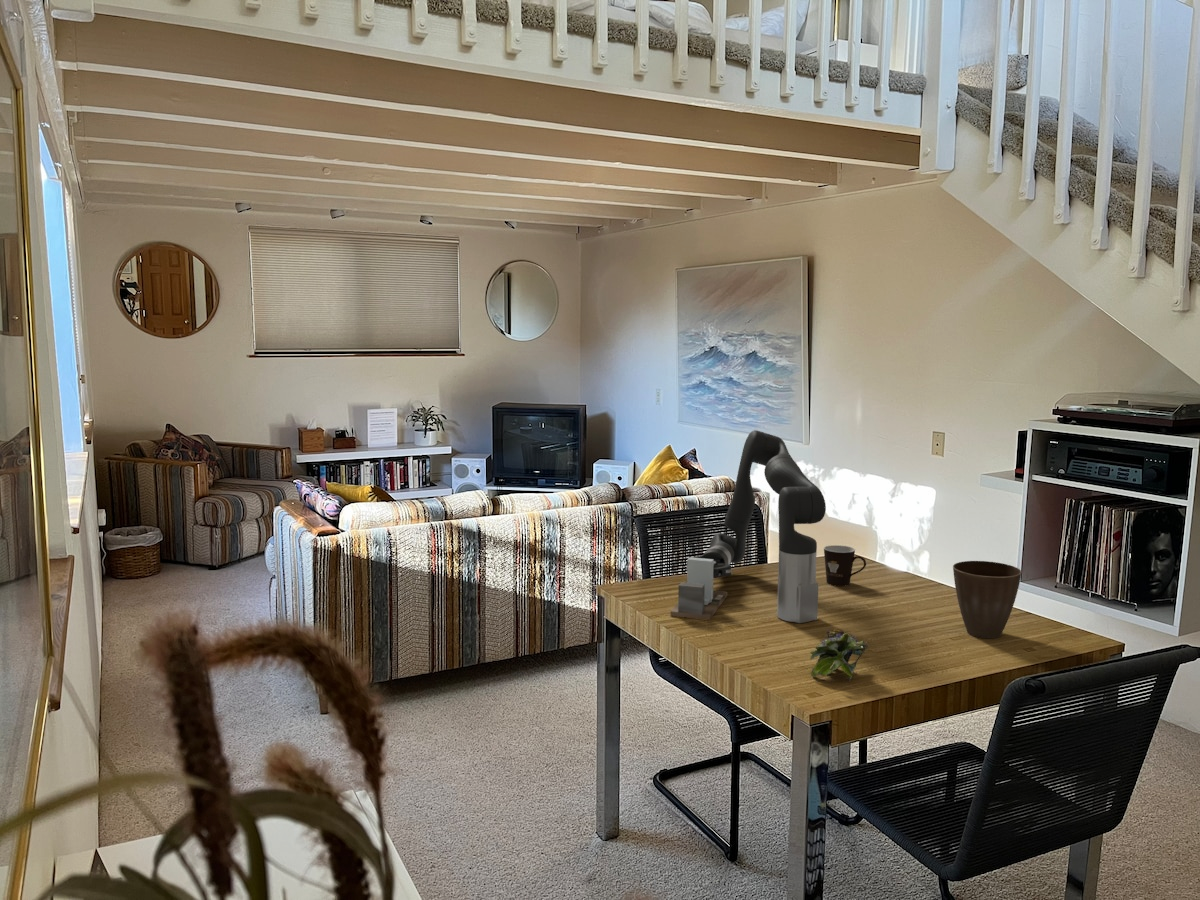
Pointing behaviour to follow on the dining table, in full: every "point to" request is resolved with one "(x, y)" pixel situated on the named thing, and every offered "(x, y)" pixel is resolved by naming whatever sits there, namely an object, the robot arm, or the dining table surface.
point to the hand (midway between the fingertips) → (701, 576)
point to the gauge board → (706, 608)
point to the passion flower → (836, 653)
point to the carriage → (702, 575)
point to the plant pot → (986, 595)
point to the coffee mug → (840, 564)
